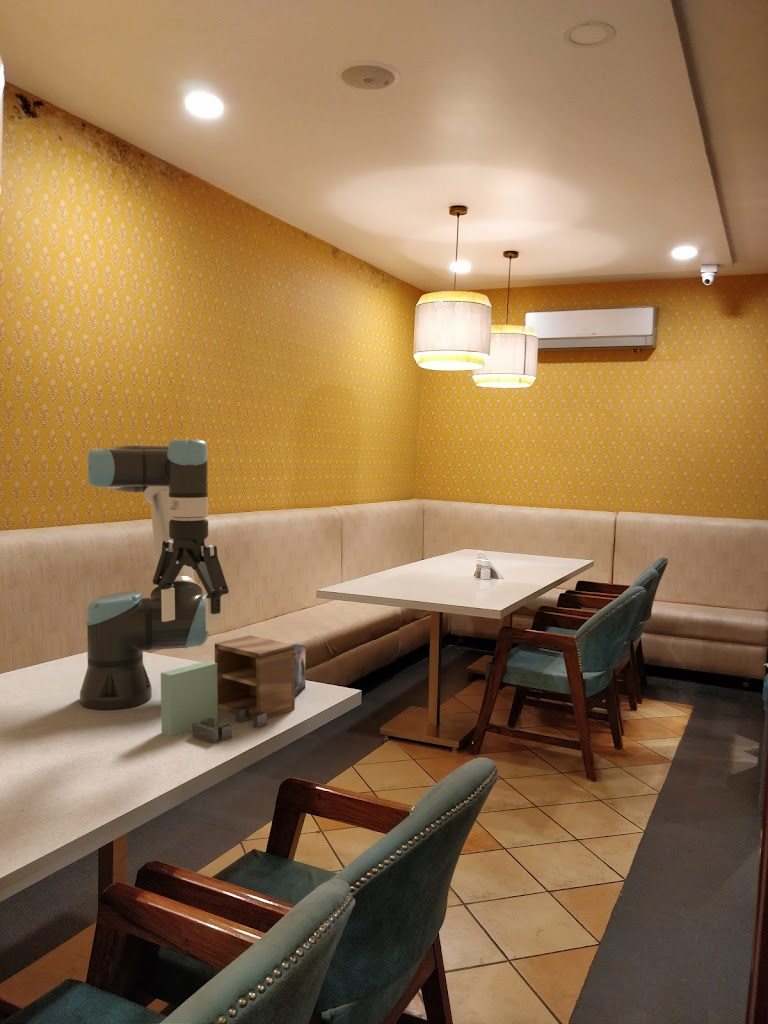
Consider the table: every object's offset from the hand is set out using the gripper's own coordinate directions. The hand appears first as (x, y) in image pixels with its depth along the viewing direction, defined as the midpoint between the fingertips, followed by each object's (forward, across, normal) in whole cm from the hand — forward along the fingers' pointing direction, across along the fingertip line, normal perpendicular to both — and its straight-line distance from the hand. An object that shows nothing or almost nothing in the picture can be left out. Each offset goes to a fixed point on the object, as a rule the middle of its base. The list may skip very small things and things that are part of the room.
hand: (189, 625), depth 161 cm
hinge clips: (+20, +8, +3) cm, 22 cm away
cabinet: (+20, +2, +16) cm, 26 cm away
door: (+21, 0, 0) cm, 21 cm away
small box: (+21, -1, +28) cm, 35 cm away
